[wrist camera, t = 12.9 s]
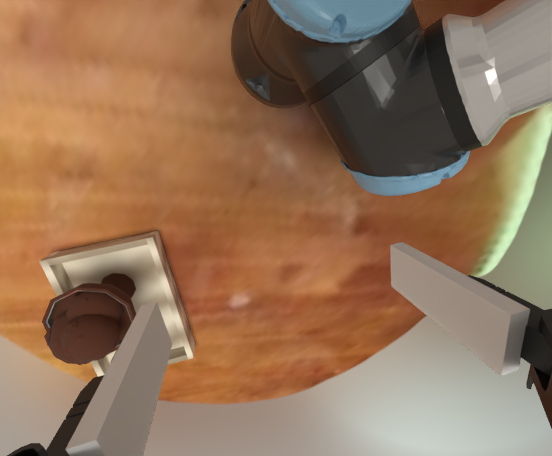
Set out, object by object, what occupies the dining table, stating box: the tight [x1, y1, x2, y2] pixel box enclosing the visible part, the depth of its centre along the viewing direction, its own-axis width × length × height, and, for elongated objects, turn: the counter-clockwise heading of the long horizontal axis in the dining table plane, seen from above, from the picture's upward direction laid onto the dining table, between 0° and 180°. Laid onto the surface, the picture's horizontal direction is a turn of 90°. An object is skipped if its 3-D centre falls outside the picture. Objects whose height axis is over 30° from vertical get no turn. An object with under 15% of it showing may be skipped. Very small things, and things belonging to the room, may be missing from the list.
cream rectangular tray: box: [39, 231, 196, 377], centre depth 44 cm, size 24×16×4 cm, turn 9°
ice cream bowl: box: [42, 273, 136, 365], centre depth 36 cm, size 11×11×15 cm
